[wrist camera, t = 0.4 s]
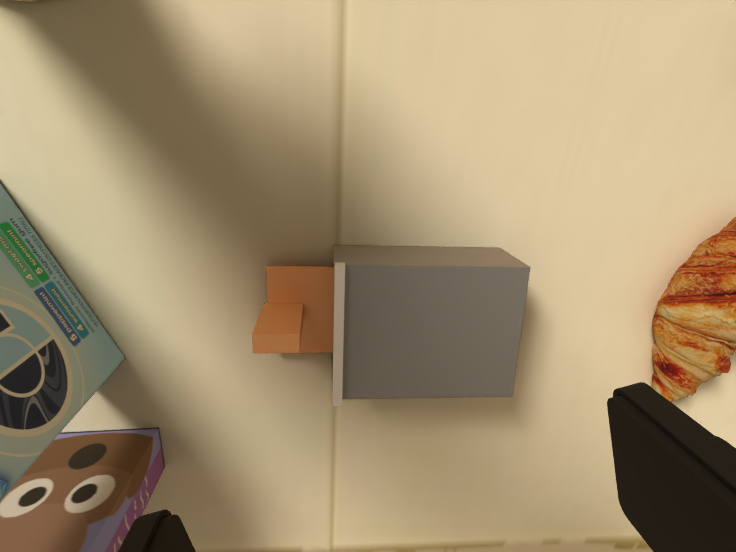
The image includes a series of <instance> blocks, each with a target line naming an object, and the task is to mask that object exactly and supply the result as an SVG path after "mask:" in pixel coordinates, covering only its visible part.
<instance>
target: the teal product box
mask: <svg viewBox="0 0 736 552" xmlns="http://www.w3.org/2000/svg"><path fill="white" fill-rule="evenodd" d="M124 359H125V357H124V355H123V354H122V353H121V351H120V350H119V348H118V347H117V346H116V344H115V343H114V341H113V340H112V339H111V337H110V336H109V334H108V333H107V331H106V330H105V329H104V327H103V326H102V325H101V323H100V322H99V320H98V319H97V318H96V316H95V315H94V313H93V312H92V311H91V309H90V308H89V306H88V305H87V304H86V302H85V301H84V299H83V298H82V297H81V295H80V294H79V292H78V291H77V290H76V288H75V287H74V285H73V284H72V283H71V281H70V280H69V278H68V277H67V276H66V274H65V273H64V272H63V270H62V269H61V267H60V266H59V265H58V263H57V262H56V260H55V259H54V258H53V256H52V255H51V253H50V252H49V251H48V249H47V248H46V246H45V245H44V244H43V242H42V241H41V239H40V238H39V237H38V235H37V234H36V232H35V231H34V230H33V228H32V227H31V225H30V224H29V223H28V221H27V220H26V218H25V217H24V216H23V214H22V213H21V211H20V210H19V209H18V207H17V206H16V205H15V203H14V202H13V200H12V199H11V198H10V196H9V195H8V194H7V192H6V191H5V189H4V188H3V187H2V185H1V184H0V501H1V500H2V498H3V497H4V496H5V495H6V494H7V493H8V492H9V490H10V489H11V488H12V487H13V486H14V485H15V484H16V482H17V481H18V480H19V479H20V478H21V477H22V476H23V474H24V473H25V472H26V471H27V470H28V469H29V468H30V466H31V465H32V464H33V463H34V462H35V461H36V459H37V458H38V457H39V456H40V455H41V454H42V452H43V451H44V450H45V449H46V448H47V447H48V446H49V445H50V443H51V442H52V441H53V440H54V439H55V438H56V437H57V435H58V434H59V433H60V432H61V431H62V430H63V429H64V427H65V426H66V425H67V424H68V423H69V422H70V421H71V419H72V418H73V417H74V416H75V415H76V414H77V413H78V411H79V410H80V409H81V408H82V407H83V406H84V405H85V403H86V402H87V401H88V400H89V399H90V398H91V397H92V396H93V395H94V393H95V392H96V391H97V390H98V389H99V388H100V387H101V385H102V384H103V383H104V382H105V381H106V380H107V379H108V377H109V376H110V375H111V374H112V373H113V372H114V371H115V369H116V368H117V367H118V366H119V365H120V363H121V362H122V361H123V360H124Z"/></svg>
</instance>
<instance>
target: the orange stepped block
mask: <svg viewBox="0 0 736 552" xmlns="http://www.w3.org/2000/svg"><path fill="white" fill-rule="evenodd" d="M266 278H267V303H264V304H263V307H262V310H261V312H260V315H259V318H258V320H257V323H256V326H255V328H254V331H253V334H252V341H253V353H333V317H334V267H320V266H267V267H266Z"/></svg>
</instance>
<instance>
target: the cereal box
mask: <svg viewBox="0 0 736 552" xmlns="http://www.w3.org/2000/svg"><path fill="white" fill-rule="evenodd" d="M164 468H165V464H164V458H163V451H162V445H161V438H160V432H159V428H142V429H123V430H104V431H84V432H65V433H59V434H58V435H57V437H56V438H55V439H54V440H53V441H52V442H51V443H50V445H49V446H48V447H47V448H46V449H45V450H44V451H43V452H42V454H41V455H40V456H39V457H38V458H37V459H36V461H35V462H34V463H33V464H32V465H31V466H30V468H29V469H28V470H27V471H26V472H25V473H24V474H23V476H22V477H21V478H20V479H19V480H18V481H17V482H16V484H15V485H14V486H13V487H12V488H11V489H10V490H9V492H8V493H7V494H6V495H5V496H4V497H3V498H2V500H1V501H0V552H118V550H119V549H120V547H121V545H122V543H123V541H124V539H125V537H126V535H127V533H128V531H129V530H130V528H131V526H132V524H133V522H134V521H135V519H136V518H138V517H139V516H141V515H142V513H143V511H144V509H145V507H146V505H147V503H148V501H149V499H150V497H151V495H152V493H153V490H154V488H155V486H156V484H157V482H158V480H159V478H160V476H161V474H162V472H163V470H164Z"/></svg>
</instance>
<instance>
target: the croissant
mask: <svg viewBox="0 0 736 552" xmlns="http://www.w3.org/2000/svg"><path fill="white" fill-rule="evenodd" d="M653 331H654V337H655V338H654V339H655V340H656V343H655V344H654V345H653V357H652V358H653V361H654V369H655V372H654V374H653V376H652V388H653V389H654V390H655V391H657V392H658V393H659V394H661V395H662V396H663V397H665V398H666V399H667V400H668V401H670V402H672V401H675V400H680V399H681V398H685V397H688V395H693V394H694V393H696V389H697V387H698V386H699V385H700V384H701V383H702V382H707V381H708V380H709V379H710V378H712V377H716V376H720V375H721V374H722V373H728V372H729V370H730V366H731V362H730V355H731V354H733V353H734V351H735V350H736V217H735V218H734V219H733V220H732V221H731V222H730V223H729V224H728V225H727V226H726V227H724V228H723V229H722V230H721V231H720V232H719V233H718V234H716V235H714V236H712V237H710V238H708V239H707V240H705V241H703V242H702V244H699V246H698V247H697V248H696V250H695V251H693V253H692V255H691V257H689V259H688V260H687V261H686V262H685V263H684V264H683V265H682V266H680V267H679V268H678V270H677V271H676V272H675V274H674V276H673V277H672V279H671V281H670V283H669V285H668V288H667V289H666V290H665V292H664V293H663V295H662V298H661V299H660V300H659V301H658V304H657V310H656V313H655V314H654V318H653Z"/></svg>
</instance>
